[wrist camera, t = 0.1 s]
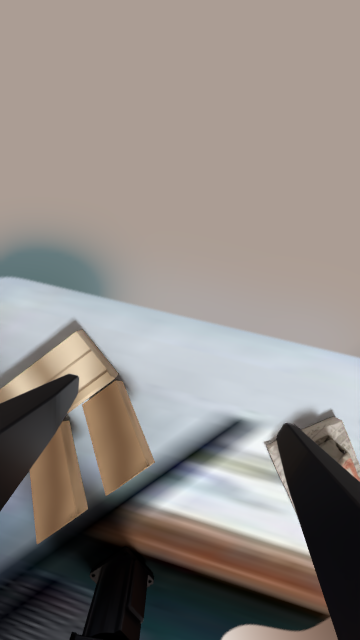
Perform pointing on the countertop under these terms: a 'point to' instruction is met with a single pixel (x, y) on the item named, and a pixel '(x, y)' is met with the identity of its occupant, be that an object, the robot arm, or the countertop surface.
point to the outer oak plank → (116, 436)
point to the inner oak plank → (57, 484)
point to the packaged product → (324, 447)
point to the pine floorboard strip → (66, 369)
